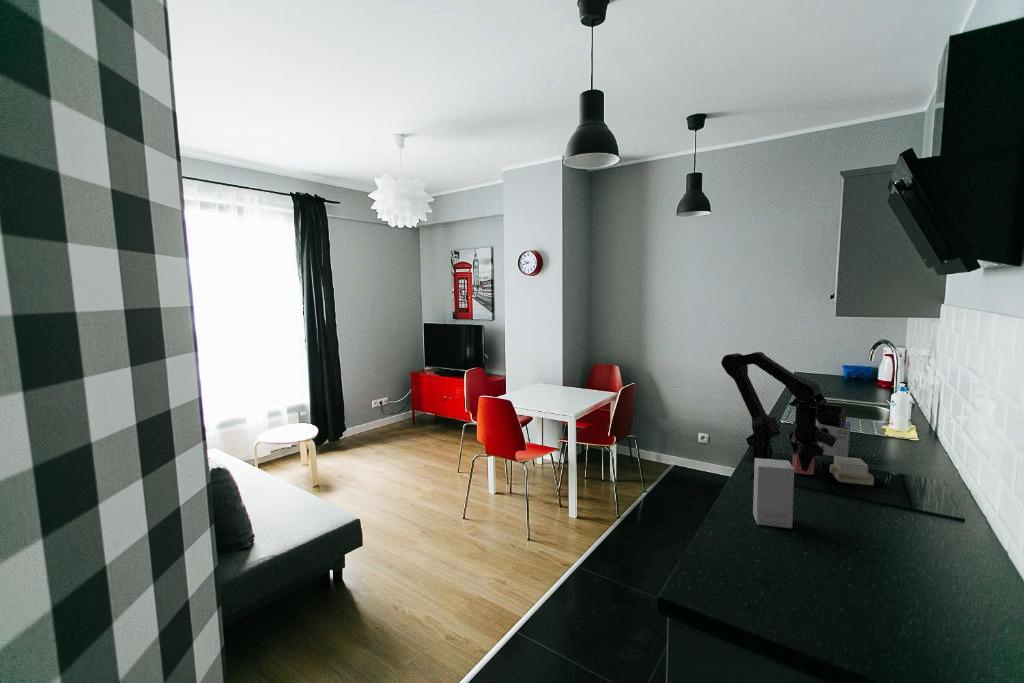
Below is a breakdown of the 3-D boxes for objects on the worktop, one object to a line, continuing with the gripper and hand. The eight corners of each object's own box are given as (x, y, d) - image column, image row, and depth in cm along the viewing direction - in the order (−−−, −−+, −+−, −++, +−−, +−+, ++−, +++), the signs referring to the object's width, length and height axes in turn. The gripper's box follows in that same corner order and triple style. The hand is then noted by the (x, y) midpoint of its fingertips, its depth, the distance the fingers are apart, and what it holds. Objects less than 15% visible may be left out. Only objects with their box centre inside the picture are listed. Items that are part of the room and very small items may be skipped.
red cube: (813, 474, 149) (814, 459, 149) (795, 473, 151) (796, 458, 150) (809, 469, 154) (810, 454, 154) (791, 467, 156) (792, 453, 155)
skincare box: (787, 518, 122) (790, 460, 120) (793, 530, 116) (796, 469, 114) (751, 513, 124) (754, 456, 123) (755, 525, 118) (758, 465, 117)
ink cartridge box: (848, 454, 170) (851, 415, 168) (848, 459, 165) (851, 419, 164) (815, 449, 175) (818, 411, 174) (815, 454, 171) (817, 415, 169)
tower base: (873, 486, 143) (874, 477, 142) (838, 483, 146) (839, 473, 145) (861, 476, 151) (862, 467, 151) (829, 472, 154) (830, 464, 154)
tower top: (867, 475, 144) (868, 465, 144) (840, 472, 146) (841, 463, 146) (859, 467, 151) (859, 458, 150) (833, 465, 153) (834, 456, 153)
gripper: (845, 431, 140) (841, 482, 141) (825, 416, 157) (822, 461, 159) (802, 428, 143) (799, 477, 145) (787, 413, 161) (785, 457, 162)
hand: (802, 468), depth 152 cm, fingers closed on red cube, 5 cm apart
